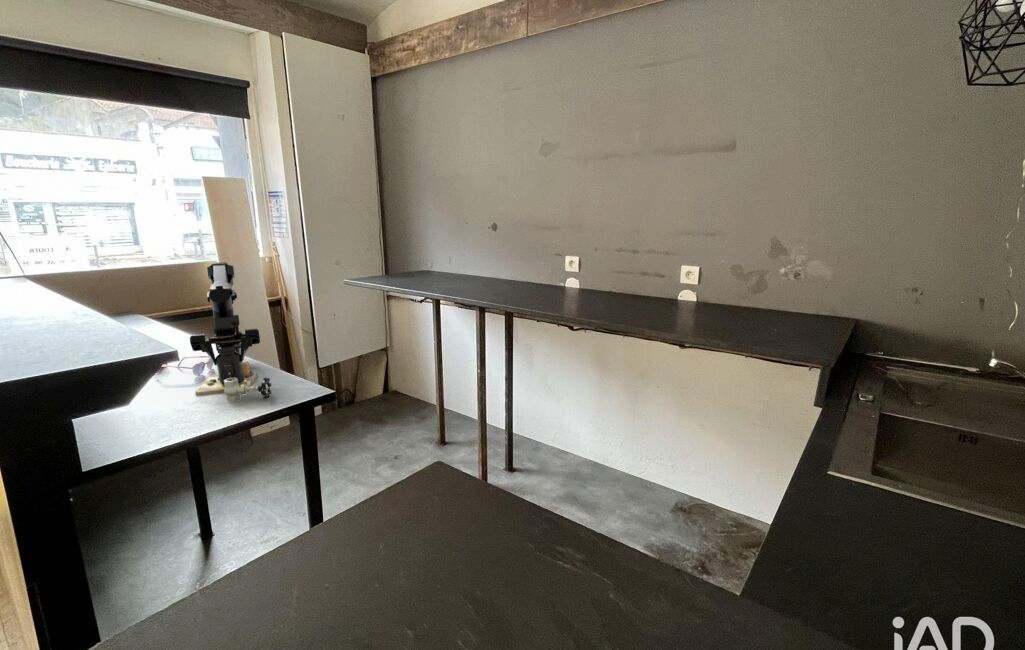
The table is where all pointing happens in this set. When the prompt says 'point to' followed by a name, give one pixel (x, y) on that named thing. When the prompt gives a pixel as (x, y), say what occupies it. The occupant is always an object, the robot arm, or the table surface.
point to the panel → (215, 387)
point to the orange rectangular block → (246, 367)
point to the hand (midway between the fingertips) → (228, 362)
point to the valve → (244, 389)
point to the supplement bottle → (229, 363)
